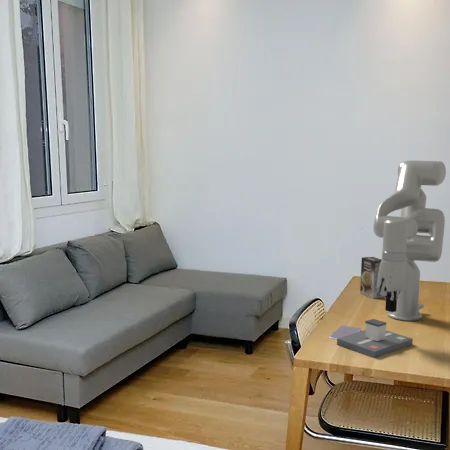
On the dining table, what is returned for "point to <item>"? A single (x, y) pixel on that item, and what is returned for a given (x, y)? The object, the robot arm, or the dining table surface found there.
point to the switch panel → (374, 343)
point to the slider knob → (375, 329)
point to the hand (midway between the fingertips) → (390, 310)
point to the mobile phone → (344, 332)
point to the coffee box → (370, 277)
